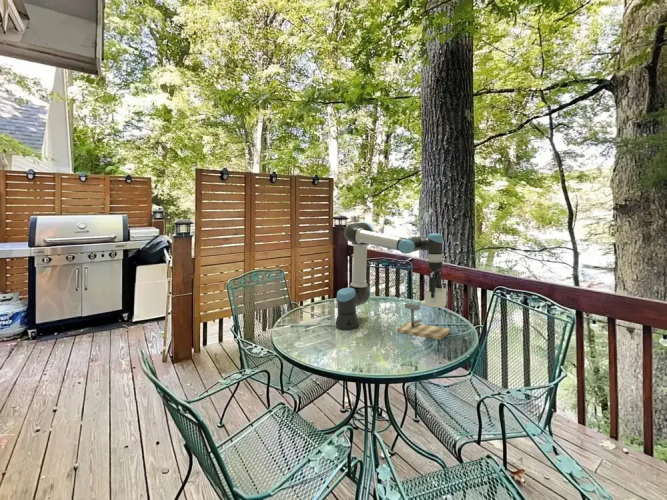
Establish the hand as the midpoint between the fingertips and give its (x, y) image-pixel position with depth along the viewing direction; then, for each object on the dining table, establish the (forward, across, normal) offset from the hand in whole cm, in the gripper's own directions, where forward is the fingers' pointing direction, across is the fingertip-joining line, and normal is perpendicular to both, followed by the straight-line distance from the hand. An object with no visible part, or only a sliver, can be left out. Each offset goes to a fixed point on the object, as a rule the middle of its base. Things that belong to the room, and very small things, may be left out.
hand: (435, 301), depth 190 cm
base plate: (+19, 0, +7) cm, 21 cm away
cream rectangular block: (+2, 0, +1) cm, 3 cm away
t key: (+17, +3, +13) cm, 21 cm away
